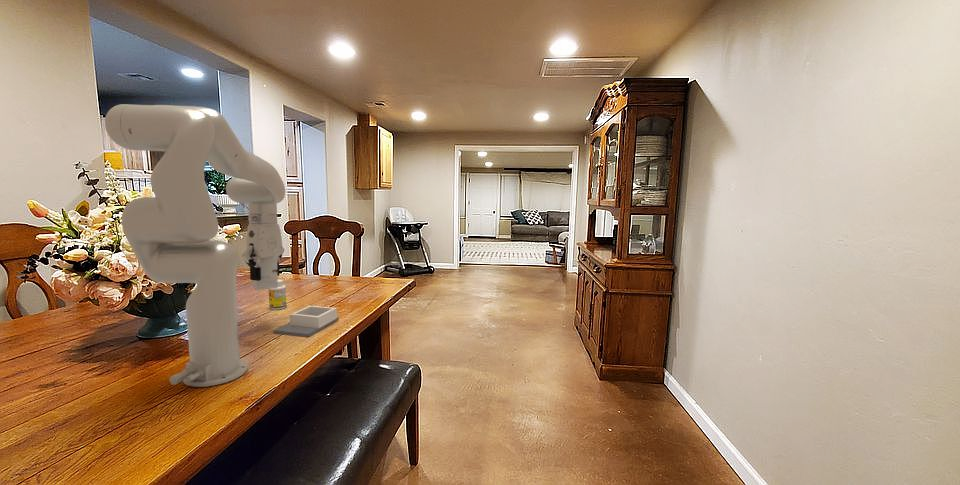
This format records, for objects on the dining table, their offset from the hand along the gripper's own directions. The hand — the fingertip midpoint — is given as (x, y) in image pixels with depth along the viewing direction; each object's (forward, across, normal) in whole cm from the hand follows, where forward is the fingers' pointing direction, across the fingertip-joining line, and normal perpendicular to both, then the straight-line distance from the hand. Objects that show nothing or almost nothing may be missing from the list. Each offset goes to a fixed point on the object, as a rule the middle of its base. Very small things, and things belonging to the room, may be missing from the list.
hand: (265, 277), depth 120 cm
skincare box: (+4, 0, 0) cm, 4 cm away
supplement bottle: (+16, +19, +11) cm, 27 cm away
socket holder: (+16, +5, -11) cm, 20 cm away
